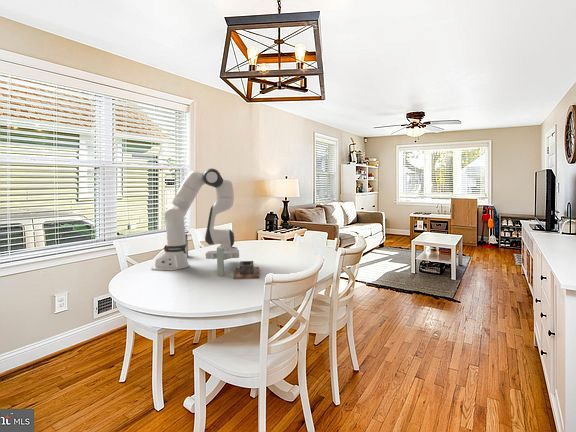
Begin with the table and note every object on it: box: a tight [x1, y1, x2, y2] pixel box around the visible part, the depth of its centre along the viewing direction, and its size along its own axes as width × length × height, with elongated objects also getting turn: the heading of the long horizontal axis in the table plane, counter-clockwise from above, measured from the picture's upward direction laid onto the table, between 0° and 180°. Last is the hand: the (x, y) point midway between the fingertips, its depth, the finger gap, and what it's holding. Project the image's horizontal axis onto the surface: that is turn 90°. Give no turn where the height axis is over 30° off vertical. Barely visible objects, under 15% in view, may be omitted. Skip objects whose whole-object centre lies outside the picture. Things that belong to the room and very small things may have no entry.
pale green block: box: [216, 245, 225, 277], centre depth 192 cm, size 3×6×16 cm, turn 4°
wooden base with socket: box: [233, 260, 260, 280], centre depth 194 cm, size 14×20×6 cm
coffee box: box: [185, 233, 189, 257], centre depth 241 cm, size 9×6×16 cm
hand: (221, 257), depth 197 cm, fingers open, 8 cm apart
